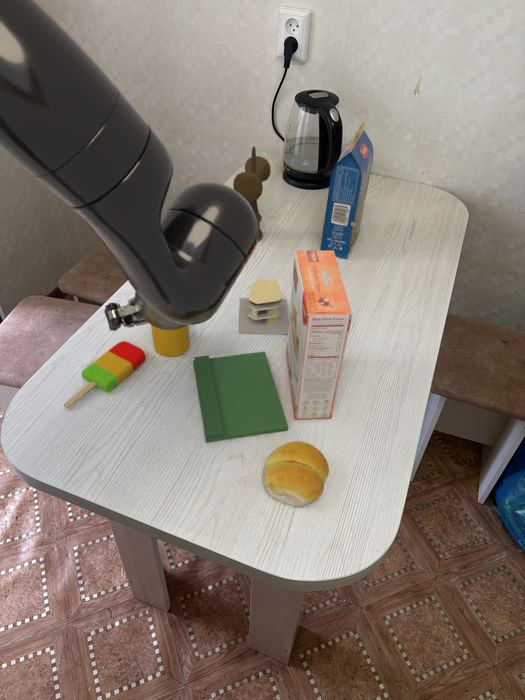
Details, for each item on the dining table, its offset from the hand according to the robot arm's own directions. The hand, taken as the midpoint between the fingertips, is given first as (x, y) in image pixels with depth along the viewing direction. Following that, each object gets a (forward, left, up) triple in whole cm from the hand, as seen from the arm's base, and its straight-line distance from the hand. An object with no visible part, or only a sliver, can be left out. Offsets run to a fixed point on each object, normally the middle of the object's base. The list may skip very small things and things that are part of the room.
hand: (159, 311), depth 69 cm
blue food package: (+40, +36, -15) cm, 56 cm away
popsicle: (-10, +3, -15) cm, 18 cm away
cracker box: (+21, -4, -15) cm, 26 cm away
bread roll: (+15, -20, -15) cm, 29 cm away
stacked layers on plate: (+18, +14, -15) cm, 27 cm away
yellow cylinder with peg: (+1, +9, -15) cm, 17 cm away
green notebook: (+10, -4, -15) cm, 18 cm away
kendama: (+21, +41, -15) cm, 48 cm away
